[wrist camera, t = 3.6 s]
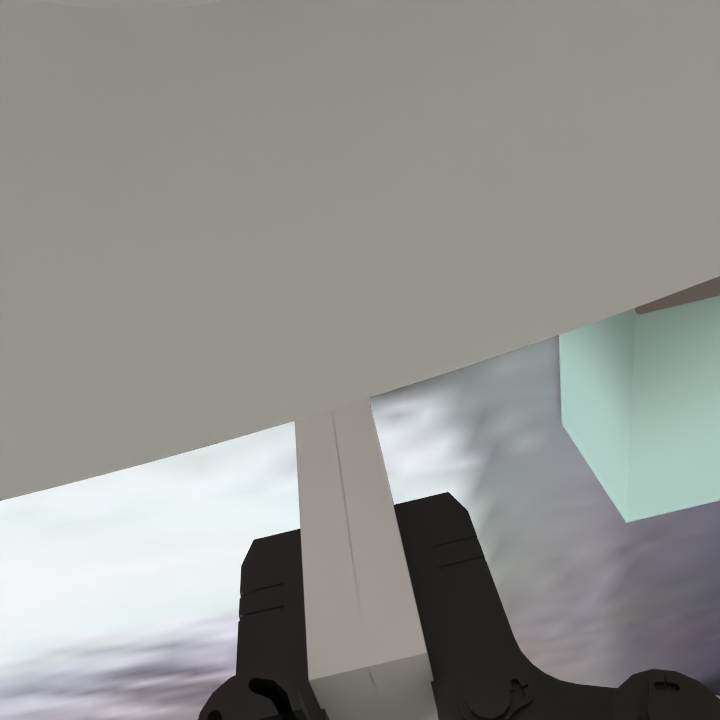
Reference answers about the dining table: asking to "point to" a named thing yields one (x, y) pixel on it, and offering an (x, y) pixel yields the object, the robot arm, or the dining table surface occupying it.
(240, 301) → the jar
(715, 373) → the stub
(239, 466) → the dining table surface
